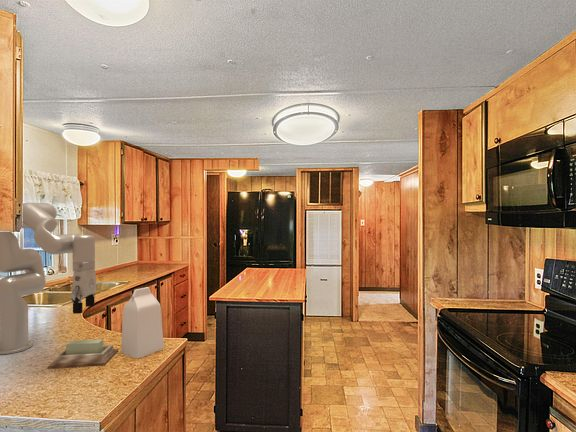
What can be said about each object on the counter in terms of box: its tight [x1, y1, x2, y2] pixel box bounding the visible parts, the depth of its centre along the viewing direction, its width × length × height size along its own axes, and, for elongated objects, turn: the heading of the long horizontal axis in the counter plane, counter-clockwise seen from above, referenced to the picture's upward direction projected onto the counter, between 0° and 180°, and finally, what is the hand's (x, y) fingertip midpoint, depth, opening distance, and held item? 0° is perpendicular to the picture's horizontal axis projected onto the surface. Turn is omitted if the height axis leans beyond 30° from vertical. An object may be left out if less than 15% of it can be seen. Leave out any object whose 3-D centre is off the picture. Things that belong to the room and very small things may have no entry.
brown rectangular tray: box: [47, 344, 119, 370], centre depth 130 cm, size 20×13×4 cm, turn 97°
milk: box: [120, 286, 165, 360], centre depth 139 cm, size 12×12×26 cm
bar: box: [65, 338, 104, 355], centre depth 131 cm, size 4×12×6 cm, turn 94°
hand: (84, 309), depth 131 cm, fingers open, 9 cm apart
